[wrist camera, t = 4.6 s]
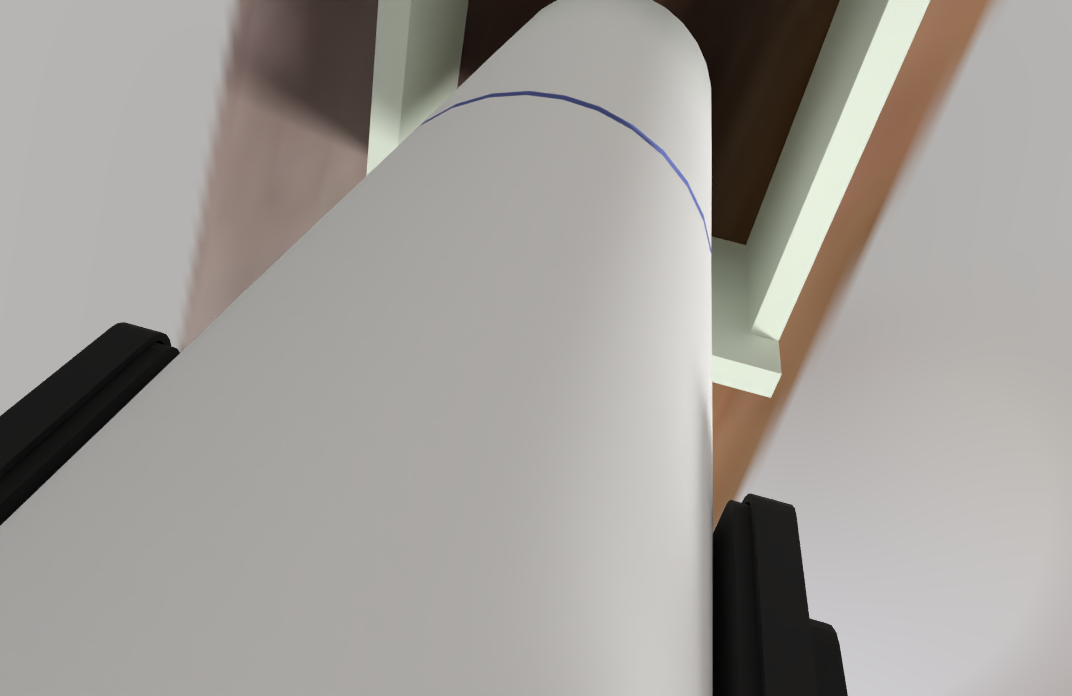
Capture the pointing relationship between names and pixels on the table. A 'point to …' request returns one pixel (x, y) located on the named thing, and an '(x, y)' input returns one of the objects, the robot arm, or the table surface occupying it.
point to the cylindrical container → (425, 421)
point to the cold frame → (791, 198)
